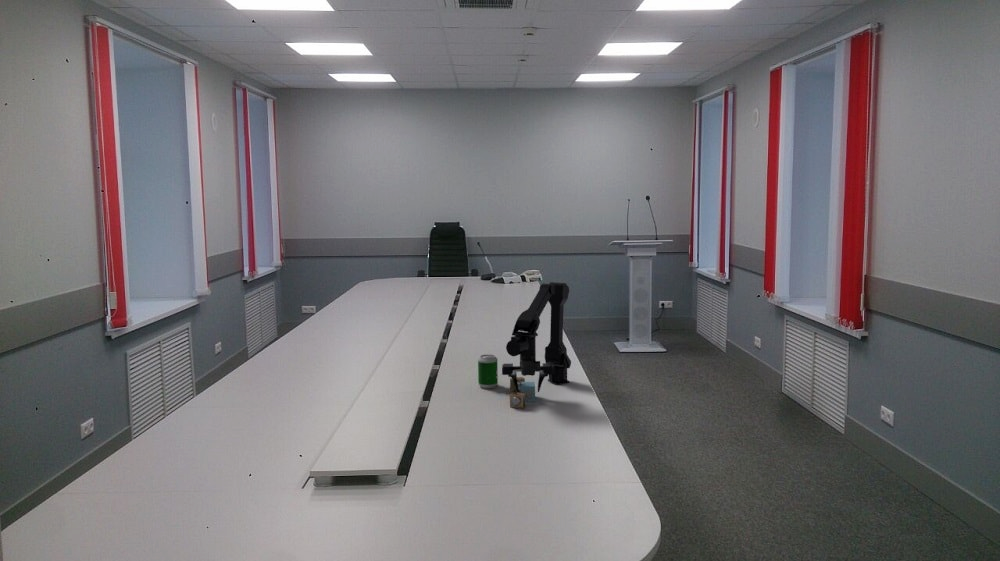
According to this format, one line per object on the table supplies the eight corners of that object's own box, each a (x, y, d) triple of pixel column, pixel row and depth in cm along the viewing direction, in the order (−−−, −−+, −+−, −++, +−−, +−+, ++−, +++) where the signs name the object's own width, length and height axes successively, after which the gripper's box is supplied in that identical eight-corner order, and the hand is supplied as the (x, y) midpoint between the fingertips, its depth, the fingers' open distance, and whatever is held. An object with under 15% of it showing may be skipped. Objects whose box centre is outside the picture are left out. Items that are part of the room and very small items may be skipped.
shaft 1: (508, 389, 248) (508, 377, 247) (521, 388, 250) (520, 376, 249) (516, 395, 241) (515, 382, 241) (528, 393, 243) (528, 380, 242)
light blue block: (521, 396, 240) (521, 381, 240) (534, 396, 240) (534, 381, 239) (521, 401, 234) (521, 386, 233) (535, 401, 234) (534, 386, 233)
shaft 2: (521, 410, 225) (521, 396, 224) (508, 408, 227) (508, 395, 226) (529, 403, 231) (528, 390, 230) (516, 402, 233) (515, 389, 232)
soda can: (495, 389, 248) (495, 359, 246) (476, 388, 250) (475, 358, 248) (499, 383, 255) (499, 354, 254) (481, 383, 257) (480, 353, 255)
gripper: (501, 356, 227) (502, 399, 229) (554, 355, 226) (555, 398, 229) (502, 348, 238) (502, 389, 240) (553, 347, 237) (553, 389, 240)
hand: (528, 391), depth 237 cm, fingers open, 7 cm apart
